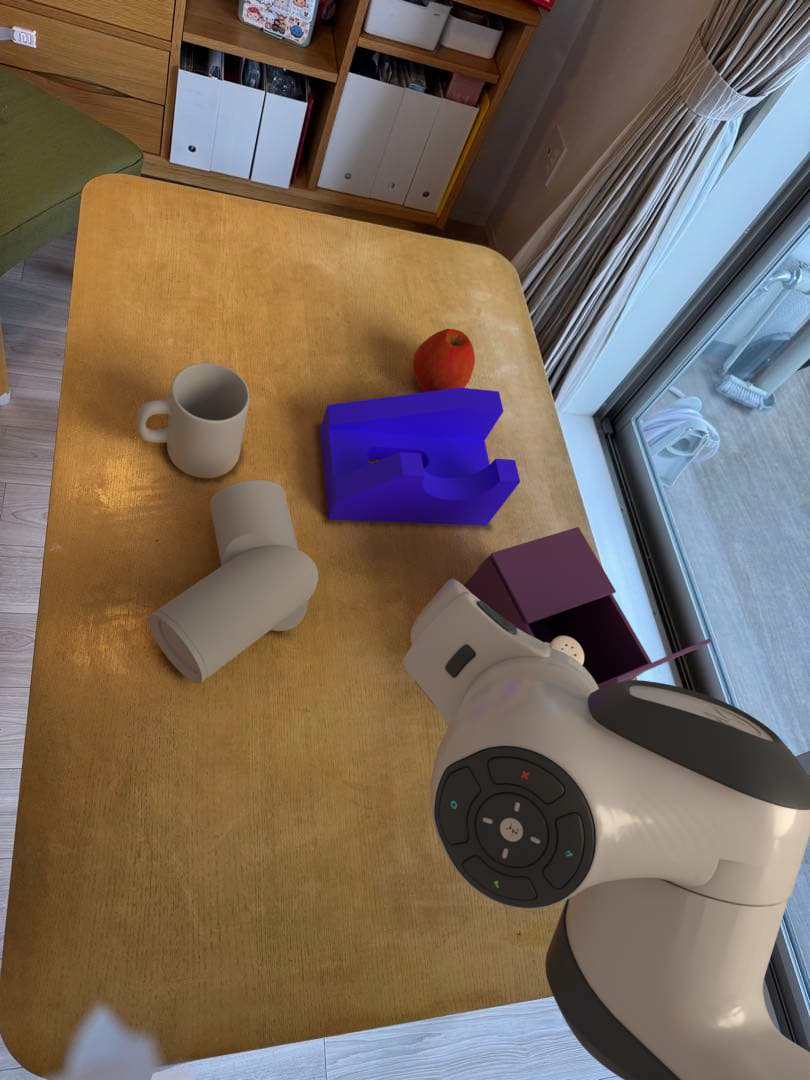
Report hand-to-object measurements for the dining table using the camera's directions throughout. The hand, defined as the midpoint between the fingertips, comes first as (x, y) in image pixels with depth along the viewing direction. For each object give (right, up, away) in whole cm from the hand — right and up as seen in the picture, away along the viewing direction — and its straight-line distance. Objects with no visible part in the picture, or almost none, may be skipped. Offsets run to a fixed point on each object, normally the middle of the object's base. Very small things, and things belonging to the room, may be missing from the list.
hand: (542, 669), depth 62 cm
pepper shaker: (-2, -3, +5) cm, 6 cm away
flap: (+11, -2, +12) cm, 17 cm away
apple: (-7, +32, +48) cm, 58 cm away
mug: (-37, +21, +31) cm, 53 cm away
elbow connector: (-31, +4, +23) cm, 39 cm away
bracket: (-11, +18, +39) cm, 44 cm away
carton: (+3, -4, +31) cm, 31 cm away
